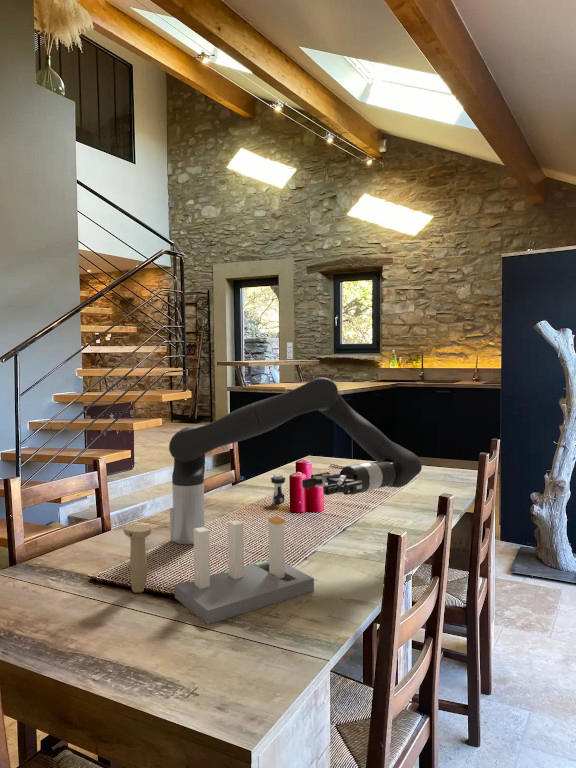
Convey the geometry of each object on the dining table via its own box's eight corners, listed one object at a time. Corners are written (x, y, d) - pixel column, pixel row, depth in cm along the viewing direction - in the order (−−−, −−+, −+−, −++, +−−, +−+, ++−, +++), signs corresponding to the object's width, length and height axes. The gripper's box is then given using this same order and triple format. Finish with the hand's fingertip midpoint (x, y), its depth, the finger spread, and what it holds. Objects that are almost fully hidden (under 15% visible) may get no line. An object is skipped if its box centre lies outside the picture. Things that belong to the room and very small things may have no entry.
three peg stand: (208, 624, 121) (207, 549, 120) (174, 597, 134) (173, 529, 133) (313, 590, 137) (313, 523, 136) (275, 569, 150) (274, 508, 149)
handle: (142, 597, 134) (141, 533, 133) (121, 591, 137) (119, 529, 136) (156, 589, 139) (155, 527, 138) (135, 584, 141) (133, 523, 140)
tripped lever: (276, 579, 139) (276, 521, 138) (269, 575, 141) (268, 518, 140) (284, 577, 140) (284, 519, 139) (277, 573, 143) (277, 516, 142)
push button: (278, 506, 209) (278, 478, 208) (266, 504, 212) (266, 476, 211) (288, 501, 215) (288, 474, 214) (275, 499, 218) (275, 473, 217)
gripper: (343, 460, 161) (296, 467, 151) (380, 468, 149) (331, 477, 140) (343, 486, 161) (296, 496, 152) (380, 497, 150) (332, 508, 140)
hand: (313, 487), depth 146 cm, fingers open, 8 cm apart
